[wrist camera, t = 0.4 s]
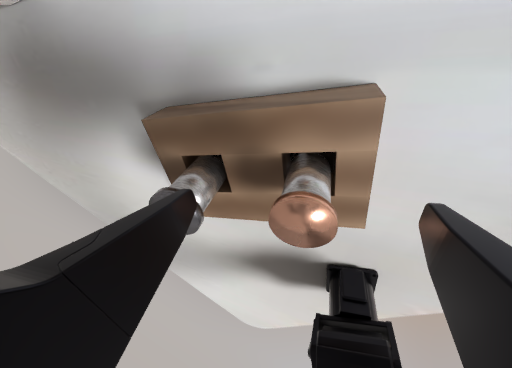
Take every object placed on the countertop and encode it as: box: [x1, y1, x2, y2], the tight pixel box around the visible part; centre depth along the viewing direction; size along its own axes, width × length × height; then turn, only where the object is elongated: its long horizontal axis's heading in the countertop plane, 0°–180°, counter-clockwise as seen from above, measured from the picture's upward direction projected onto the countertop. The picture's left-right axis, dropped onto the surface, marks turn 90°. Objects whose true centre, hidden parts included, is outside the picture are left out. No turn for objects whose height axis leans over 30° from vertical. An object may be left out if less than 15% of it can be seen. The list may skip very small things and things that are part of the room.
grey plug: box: [149, 155, 227, 235], centre depth 20 cm, size 4×4×7 cm
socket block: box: [141, 83, 386, 229], centre depth 22 cm, size 12×20×4 cm, turn 100°
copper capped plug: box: [268, 152, 338, 248], centre depth 17 cm, size 4×4×7 cm
